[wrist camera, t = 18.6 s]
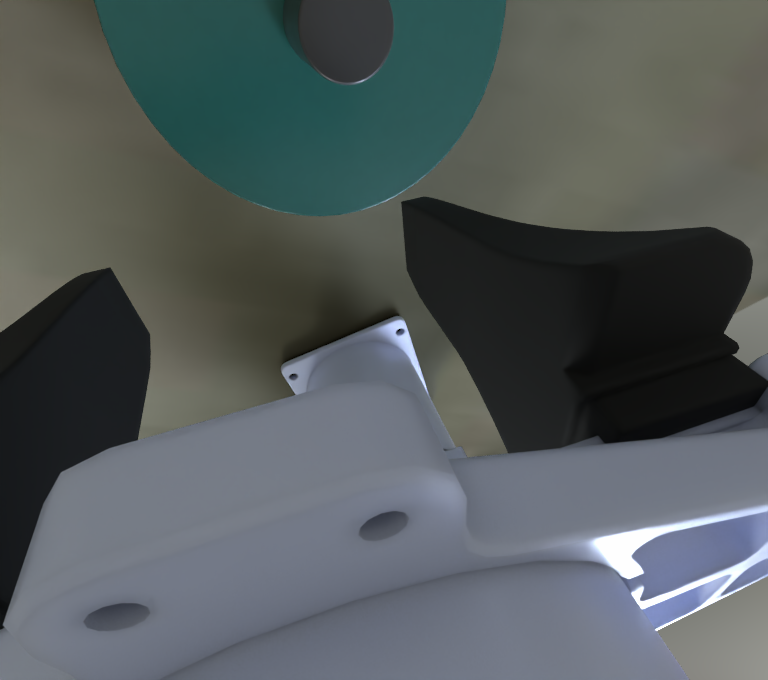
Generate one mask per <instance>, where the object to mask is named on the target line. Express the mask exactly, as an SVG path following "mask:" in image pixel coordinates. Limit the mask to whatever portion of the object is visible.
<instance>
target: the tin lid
mask: <svg viewBox="0 0 768 680" xmlns="http://www.w3.org/2000/svg"><path fill="white" fill-rule="evenodd" d="M94 3H95V6H96V10H97V13H98V16H99V20H100V23H101V27H102V30H103V33H104V36H105V38H106V40H107V43H108V45H109V48H110V50H111V53H112V55H113V58H114V60H115V62H116V65H117V67H118V69H119V71H120V72H121V74H122V76H123V78H124V80H125V82H126V84H127V85H128V87H129V89H130V91H131V93H132V95H133V97H134V98H135V99H136V101H137V102H138V104H139V105H140V107H141V108H142V110H143V111H144V113H145V114H146V116H147V117H148V119H149V120H150V122H151V123H152V124H153V125H154V127H155V128H156V129H157V130H158V131H159V132H160V134H161V135H162V136H163V137H164V138H165V140H166V141H167V142H168V143H169V144H170V145H171V146H172V147H173V148H174V149H175V150H176V151H177V152H178V153H179V154H180V155H181V156H182V157H183V158H184V159H185V160H186V161H187V162H188V163H189V164H190V165H191V166H193V167H194V168H195V169H197V170H198V171H199V172H201V173H202V174H203V175H204V176H206V177H207V178H208V179H210V180H211V181H212V182H214V183H216V184H217V185H219V186H221V187H222V188H224V189H226V190H227V191H229V192H231V193H232V194H234V195H236V196H238V197H240V198H243V199H245V200H247V201H249V202H252V203H254V204H256V205H259V206H262V207H266V208H269V209H272V210H275V211H279V212H285V213H290V214H296V215H307V216H329V215H341V214H346V213H351V212H356V211H361V210H364V209H367V208H370V207H372V206H375V205H378V204H381V203H383V202H385V201H387V200H389V199H391V198H393V197H395V196H397V195H399V194H400V193H402V192H403V191H405V190H407V189H408V188H410V187H411V186H413V185H414V184H416V183H417V182H418V181H419V180H420V179H422V178H423V177H424V176H425V175H427V174H428V173H429V172H430V171H431V170H432V169H433V168H434V167H435V166H436V165H437V164H438V163H439V162H440V161H441V160H442V159H443V158H444V157H445V156H446V155H447V153H448V152H449V151H450V150H451V148H452V147H453V146H454V144H455V143H456V142H457V141H458V139H459V138H460V137H461V135H462V133H463V132H464V130H465V129H466V127H467V125H468V124H469V122H470V120H471V119H472V117H473V115H474V113H475V111H476V109H477V107H478V105H479V103H480V101H481V99H482V97H483V95H484V92H485V90H486V87H487V84H488V82H489V79H490V76H491V73H492V71H493V68H494V64H495V60H496V56H497V53H498V49H499V45H500V41H501V35H502V29H503V23H504V17H505V7H506V0H94Z"/></svg>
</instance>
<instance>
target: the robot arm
mask: <svg viewBox="0 0 768 680" xmlns="http://www.w3.org/2000/svg"><path fill="white" fill-rule="evenodd" d="M401 203H402V216H403V228H404V240H405V252H406V265H407V271H408V273H409V275H410V278H411V280H412V282H413V284H414V286H415V288H416V290H417V292H418V294H419V296H420V298H421V299H422V301H423V302H424V304H425V305H426V307H427V308H428V310H429V311H430V313H431V314H432V316H433V317H434V319H435V320H436V321H437V323H438V324H439V326H440V327H441V329H442V330H443V332H444V333H445V334H446V336H447V337H448V339H449V340H450V342H451V343H452V345H453V346H454V347H455V349H456V350H457V352H458V354H459V355H460V357H461V358H462V360H463V362H464V363H465V365H466V367H467V369H468V371H469V373H470V375H471V377H472V379H473V381H474V382H475V384H476V386H477V388H478V390H479V392H480V394H481V396H482V398H483V400H484V402H485V404H486V406H487V408H488V410H489V412H490V415H491V417H492V419H493V421H494V423H495V425H496V427H497V429H498V432H499V434H500V436H501V438H502V440H503V442H504V445H505V447H506V449H507V451H508V454H498V455H487V456H477V457H467V455H466V453H465V452H464V450H463V448H462V447H461V446H459V447H455V445H454V443H453V441H452V439H451V437H450V435H449V433H448V431H447V430H446V428H445V426H444V424H443V422H442V420H441V418H440V416H439V414H438V412H437V410H436V408H435V406H434V404H433V402H432V400H431V398H430V396H429V393H428V390H427V387H426V384H425V381H424V378H423V375H422V372H421V369H420V366H419V363H418V360H417V357H416V354H415V351H414V348H413V345H412V342H411V338H410V335H409V332H408V329H407V326H406V323H405V321H404V319H403V318H402V317H401V316H395V317H392V318H390V319H387V320H385V321H383V322H380V323H378V324H375V325H373V326H371V327H368V328H366V329H364V330H361V331H359V332H356V333H354V334H352V335H349V336H347V337H344V338H342V339H340V340H337V341H335V342H333V343H330V344H328V345H325V346H323V347H321V348H318V349H316V350H313V351H311V352H309V353H306V354H304V355H302V356H299V357H297V358H294V359H292V360H290V361H287V362H285V363H284V364H283V365H282V366H281V372H282V375H283V376H284V378H285V379H286V381H287V382H288V384H289V385H290V387H291V388H292V390H293V391H294V393H295V394H296V395H294V396H291V397H287V398H284V399H280V400H277V401H273V402H270V403H266V404H263V405H259V406H256V407H252V408H249V409H245V410H242V411H238V412H235V413H231V414H228V415H224V416H221V417H217V418H214V419H210V420H207V421H203V422H200V423H196V424H193V425H189V426H186V427H182V428H179V429H175V430H172V431H168V432H165V433H161V434H158V435H154V436H151V437H147V438H144V439H140V440H138V435H139V429H140V424H141V418H142V413H143V407H144V402H145V396H146V391H147V385H148V379H149V373H150V355H151V351H150V333H149V332H148V330H147V328H146V327H145V325H144V323H143V322H142V320H141V318H140V317H139V315H138V313H137V312H136V310H135V308H134V307H133V305H132V303H131V301H130V300H129V298H128V296H127V295H126V293H125V291H124V290H123V288H122V286H121V285H120V283H119V281H118V280H117V278H116V276H115V275H114V273H113V271H112V270H111V268H106V269H102V270H97V271H93V272H88V273H84V274H81V275H80V276H78V277H76V278H74V279H72V280H71V281H69V282H68V283H66V284H65V285H63V286H62V287H61V288H59V289H58V290H56V291H55V292H54V293H52V294H51V295H50V296H48V297H47V298H46V299H45V300H43V301H42V302H41V303H39V304H38V305H37V306H35V307H34V308H33V309H32V310H30V311H29V312H28V313H26V314H25V315H24V316H22V317H21V318H20V319H18V320H17V321H16V322H14V323H13V324H12V325H10V326H9V327H7V328H6V329H5V330H3V331H2V332H0V680H689V678H688V677H687V675H686V674H685V672H684V671H683V669H682V668H681V666H680V665H679V663H678V662H677V661H676V659H675V658H674V656H673V654H672V653H671V652H670V650H669V649H668V647H667V646H666V644H665V643H664V641H663V640H662V638H661V637H660V635H659V634H658V632H657V630H659V629H661V628H663V627H665V626H667V625H669V624H671V623H673V622H675V621H677V620H679V619H681V618H683V617H685V616H687V615H689V614H691V613H693V612H695V611H697V610H699V609H701V608H703V607H706V606H707V605H709V604H711V603H714V602H716V601H718V600H719V599H722V598H724V597H726V596H728V595H730V594H732V593H734V592H736V591H738V590H740V589H742V588H744V587H746V586H748V585H750V584H752V583H754V582H756V581H759V580H761V579H763V578H765V577H767V576H768V353H767V354H765V355H763V356H761V357H759V358H757V359H756V360H755V361H754V362H752V363H751V364H750V365H749V366H747V365H745V364H744V363H743V362H741V361H740V360H738V359H737V358H736V357H734V356H733V355H732V354H735V353H737V351H738V349H739V346H738V344H737V342H735V341H734V340H732V339H731V338H729V337H728V336H727V335H725V334H724V331H725V330H726V328H727V326H728V324H729V322H730V320H731V318H732V316H733V314H734V312H735V311H736V309H737V307H738V305H739V303H740V301H741V299H742V297H743V295H744V293H745V291H746V289H747V286H748V284H749V281H750V279H751V273H752V265H753V260H752V256H751V252H750V249H749V248H748V247H747V246H746V245H745V244H744V243H743V242H742V241H741V240H739V239H737V238H735V237H733V236H731V235H728V234H726V233H724V232H722V231H720V230H718V229H716V228H712V227H699V228H685V229H672V230H659V231H628V232H607V231H584V230H570V229H559V228H550V227H544V226H538V225H531V224H525V223H520V222H515V221H511V220H507V219H503V218H499V217H495V216H491V215H487V214H484V213H480V212H477V211H474V210H470V209H467V208H464V207H461V206H458V205H454V204H451V203H448V202H445V201H441V200H438V199H434V198H429V197H420V198H416V199H412V200H407V201H403V202H401ZM400 328H402V329H401V330H400V331H398V332H396V331H397V330H398V329H400ZM291 374H296V375H294V376H291Z"/></svg>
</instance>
